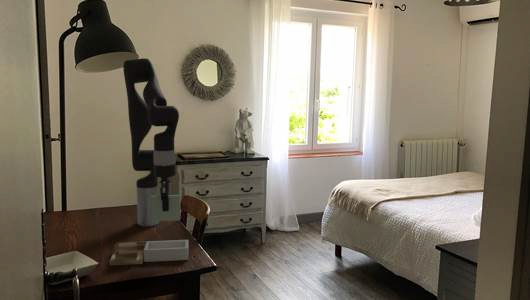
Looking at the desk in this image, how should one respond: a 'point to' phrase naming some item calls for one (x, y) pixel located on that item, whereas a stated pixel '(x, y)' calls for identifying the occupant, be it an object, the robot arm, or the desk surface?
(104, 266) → the desk surface
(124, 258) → the offcut low
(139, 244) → the rack
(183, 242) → the bin
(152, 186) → the robot arm
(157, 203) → the sheet
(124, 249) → the offcut top
